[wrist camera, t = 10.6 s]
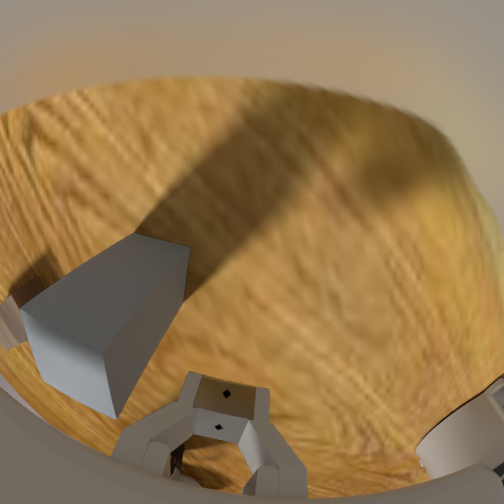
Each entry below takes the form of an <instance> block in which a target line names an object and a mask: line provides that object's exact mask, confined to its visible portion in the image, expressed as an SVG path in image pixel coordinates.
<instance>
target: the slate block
mask: <svg viewBox="0 0 504 504" xmlns="http://www.w3.org/2000/svg"><path fill="white" fill-rule="evenodd" d="M190 249H191V247H188V246H184V245H180V244H176V243H172V242H168V241H164V240H160V239H156V238H152V237H148V236H144V235H140V234H136V233H132V234H130V235H129V236H127V237H125V238H124V239H122V240H120V241H119V242H117V243H115V244H114V245H112V246H110V247H109V248H107V249H106V250H104V251H102V252H101V253H99V254H98V255H96V256H94V257H93V258H91V259H90V260H88V261H87V262H85V263H83V264H82V265H80V266H79V267H77V268H76V269H74V270H73V271H71V272H70V273H68V274H67V275H65V276H64V277H62V278H61V279H60V280H58V281H57V282H55V283H54V284H52V285H51V286H50V287H48V288H47V289H45V290H44V291H42V292H41V293H40V294H38V295H37V296H36V297H34V298H33V299H32V300H30V301H29V302H28V303H26V304H25V305H24V306H22V307H21V308H20V311H21V315H22V319H23V323H24V327H25V330H26V334H27V337H28V340H29V343H30V346H31V349H32V352H33V355H34V358H35V361H36V364H37V366H38V369H39V372H40V374H41V377H42V379H43V381H44V382H46V383H48V384H49V385H51V386H52V387H54V388H56V389H57V390H59V391H61V392H62V393H64V394H66V395H68V396H69V397H71V398H73V399H75V400H77V401H78V402H80V403H82V404H84V405H86V406H88V407H90V408H92V409H94V410H96V411H98V412H100V413H102V414H105V415H107V416H109V417H111V418H113V419H116V420H117V418H118V417H119V415H120V413H121V411H122V409H123V407H124V405H125V404H126V402H127V400H128V398H129V396H130V394H131V393H132V391H133V389H134V387H135V385H136V383H137V382H138V380H139V378H140V376H141V375H142V373H143V371H144V369H145V367H146V366H147V364H148V362H149V360H150V359H151V357H152V355H153V353H154V352H155V350H156V348H157V346H158V345H159V343H160V341H161V339H162V338H163V336H164V334H165V333H166V331H167V329H168V327H169V326H170V324H171V322H172V321H173V319H174V317H175V316H176V314H177V312H178V311H179V309H180V307H181V306H182V304H183V300H184V292H185V284H186V277H187V269H188V263H189V256H190Z"/></svg>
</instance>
